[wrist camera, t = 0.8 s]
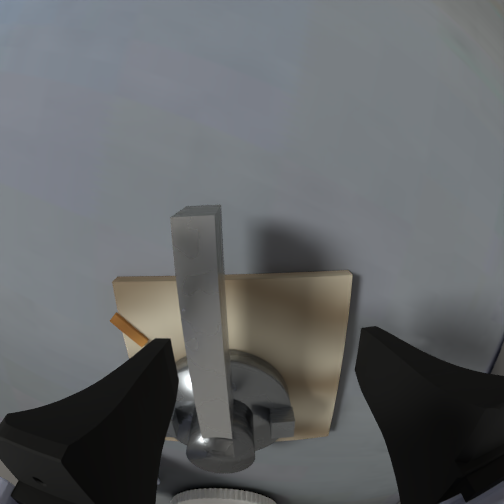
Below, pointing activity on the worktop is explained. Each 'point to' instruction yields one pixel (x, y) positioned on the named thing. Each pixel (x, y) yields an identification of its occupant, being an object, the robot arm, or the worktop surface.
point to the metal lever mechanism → (218, 360)
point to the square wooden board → (259, 330)
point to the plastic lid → (220, 497)
